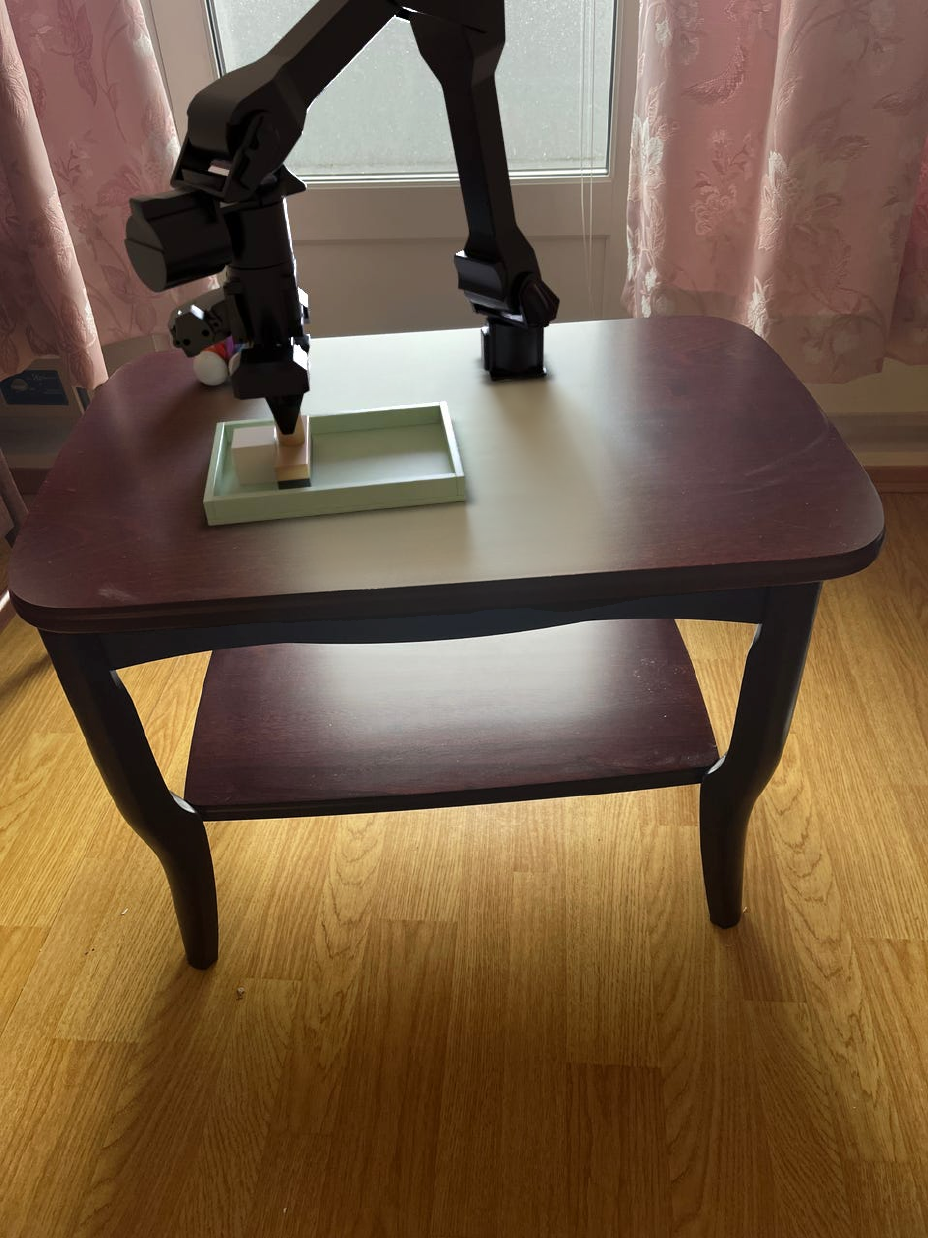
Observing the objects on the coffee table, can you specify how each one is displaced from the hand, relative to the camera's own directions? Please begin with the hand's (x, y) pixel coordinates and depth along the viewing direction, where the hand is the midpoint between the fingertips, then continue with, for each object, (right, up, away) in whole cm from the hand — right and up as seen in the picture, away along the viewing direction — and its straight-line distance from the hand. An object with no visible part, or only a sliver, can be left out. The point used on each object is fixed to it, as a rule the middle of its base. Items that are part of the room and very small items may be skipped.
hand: (288, 426), depth 90 cm
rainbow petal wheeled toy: (-10, +10, +22) cm, 27 cm away
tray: (+4, -4, +4) cm, 7 cm away
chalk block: (-3, -4, +3) cm, 6 cm away
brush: (0, -3, +3) cm, 4 cm away
